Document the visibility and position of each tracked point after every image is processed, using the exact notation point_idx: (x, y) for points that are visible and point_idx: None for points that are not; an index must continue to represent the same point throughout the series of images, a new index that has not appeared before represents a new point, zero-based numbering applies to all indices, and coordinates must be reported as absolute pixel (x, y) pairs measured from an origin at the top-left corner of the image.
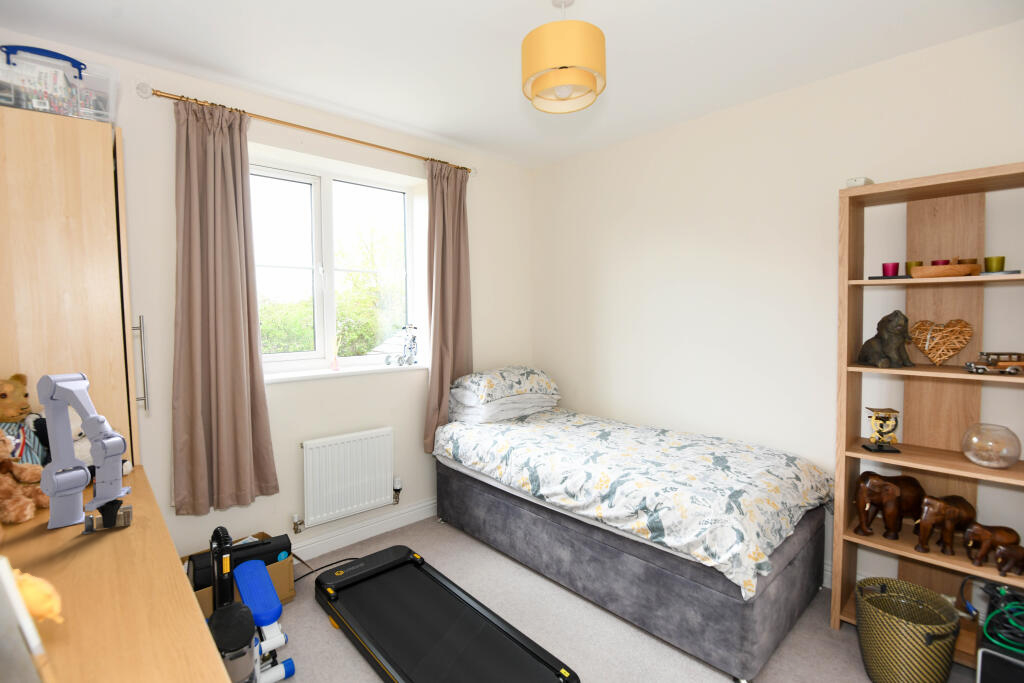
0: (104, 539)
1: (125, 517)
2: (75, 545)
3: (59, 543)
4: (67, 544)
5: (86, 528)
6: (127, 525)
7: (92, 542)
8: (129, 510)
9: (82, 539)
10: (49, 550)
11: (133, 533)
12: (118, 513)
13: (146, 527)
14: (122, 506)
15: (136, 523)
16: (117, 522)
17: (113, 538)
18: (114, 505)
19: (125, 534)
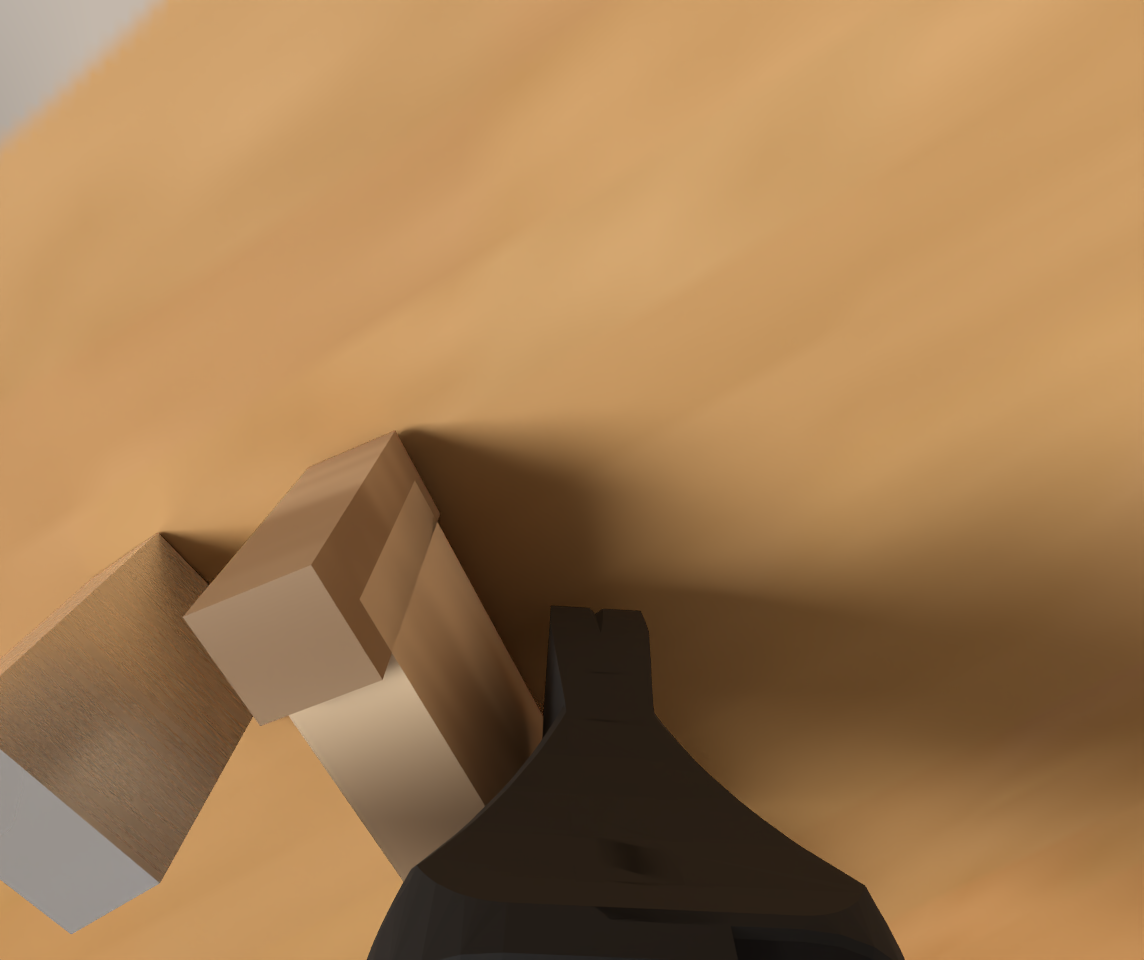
0: (951, 494)
1: (397, 565)
2: (1067, 743)
3: (924, 941)
4: (992, 848)
5: None
6: (414, 468)
7: (1027, 596)
8: (291, 588)
9: (858, 783)
10: (1131, 915)
11: (782, 132)
12: (392, 751)
13: (482, 40)
14: (29, 890)
15: (266, 391)
16: (470, 632)
17: (949, 373)
18: (878, 948)
19: (801, 268)
